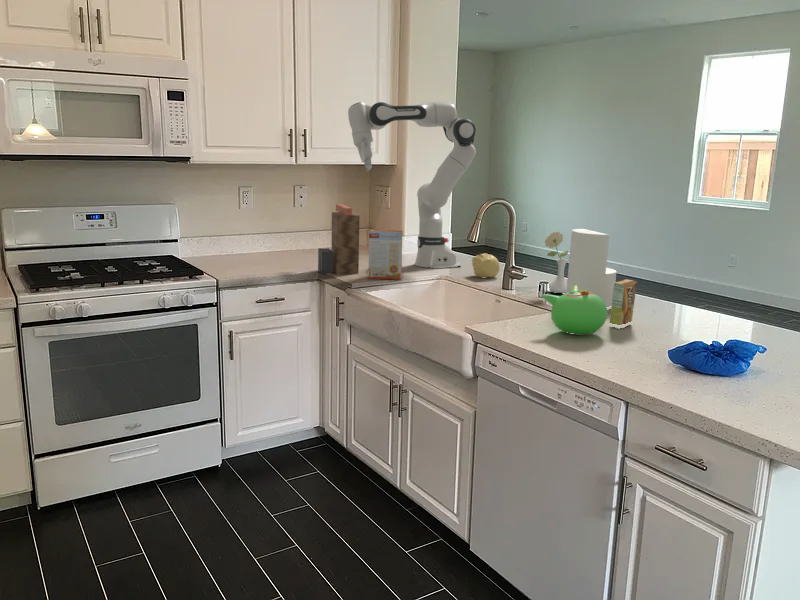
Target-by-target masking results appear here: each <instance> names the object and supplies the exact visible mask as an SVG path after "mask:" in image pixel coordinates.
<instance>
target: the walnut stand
mask: <svg viewBox="0 0 800 600" xmlns="http://www.w3.org/2000/svg"><path fill="white" fill-rule="evenodd" d="M330 250H331V251H333V273H335V274H336V275H343V274H342V273H357V274H359V273H360V272H359V269H360V268H359V266H360V265H359V261H360V214H358V213H355V212H353V211H352V215H344V214H342V213H340V212H338V211H336V212H334V211H333V212H331V248H330Z"/></svg>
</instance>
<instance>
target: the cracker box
mask: <svg viewBox="0 0 800 600" xmlns="http://www.w3.org/2000/svg"><path fill="white" fill-rule="evenodd" d="M403 232H404V231H403V230H397V229H396V230H393V229H392V230H390V229H370V230H369V231H368V233H369V236H368V279H374V280H394V281H395V280H397V281H399V280H401V279H402V272H403V269H402V268H403V267H402V266H403V265H402V264H403V235H404V234H403Z"/></svg>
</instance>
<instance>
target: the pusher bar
mask: <svg viewBox="0 0 800 600" xmlns="http://www.w3.org/2000/svg"><path fill="white" fill-rule="evenodd" d="M335 211H336V212H340V213H342V214H344V215H352V212H353V208H352V207H349V206H348V205H345V204H342V203H336V204H335Z"/></svg>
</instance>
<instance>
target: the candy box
mask: <svg viewBox="0 0 800 600" xmlns="http://www.w3.org/2000/svg"><path fill="white" fill-rule="evenodd" d="M637 283H638V281H637V280H632V279H626V278H625V279H622V280H620V281H615V283H614V289H613V298H612V307H611V310H610V317H609V323H612V324H617V325H622V324H626V323H628V322H631V321H632V322H633V315H634V309H635V299H636V294H637V293H636V292H637Z"/></svg>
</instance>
